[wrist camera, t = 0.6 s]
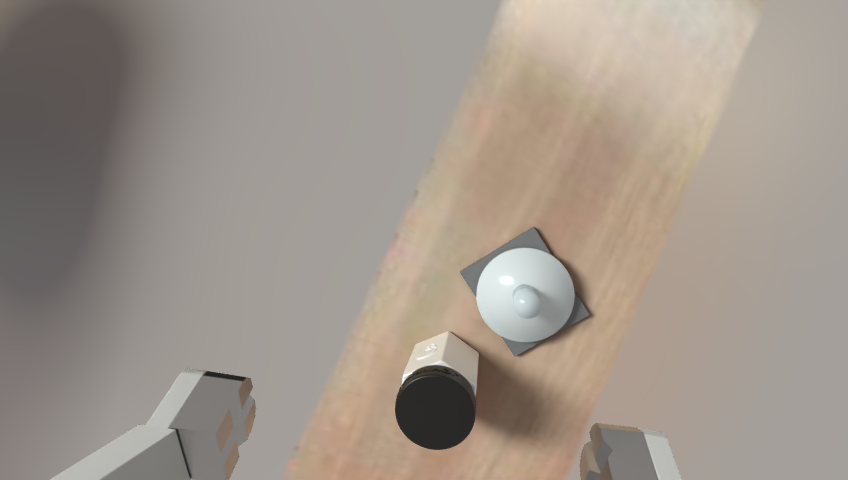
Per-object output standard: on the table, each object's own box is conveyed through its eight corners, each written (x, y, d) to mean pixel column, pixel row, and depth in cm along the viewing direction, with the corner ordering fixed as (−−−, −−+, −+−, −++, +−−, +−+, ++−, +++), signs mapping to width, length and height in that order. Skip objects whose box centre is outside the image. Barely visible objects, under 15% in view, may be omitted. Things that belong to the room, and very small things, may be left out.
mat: (588, 312, 58) (589, 314, 57) (514, 354, 60) (514, 356, 59) (533, 226, 57) (534, 227, 56) (460, 271, 59) (460, 272, 58)
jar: (465, 322, 60) (458, 361, 48) (492, 381, 61) (492, 434, 49) (399, 348, 62) (377, 392, 50) (426, 406, 62) (411, 462, 51)
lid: (591, 309, 57) (600, 323, 52) (508, 355, 59) (510, 373, 54) (540, 228, 56) (545, 235, 51) (458, 278, 59) (455, 289, 53)
